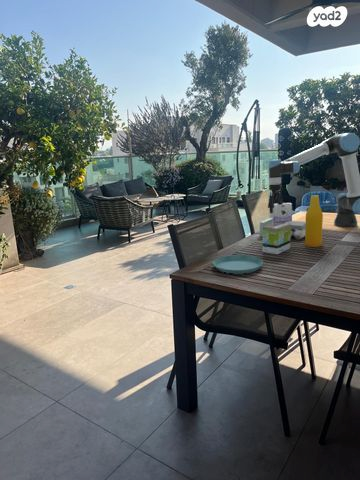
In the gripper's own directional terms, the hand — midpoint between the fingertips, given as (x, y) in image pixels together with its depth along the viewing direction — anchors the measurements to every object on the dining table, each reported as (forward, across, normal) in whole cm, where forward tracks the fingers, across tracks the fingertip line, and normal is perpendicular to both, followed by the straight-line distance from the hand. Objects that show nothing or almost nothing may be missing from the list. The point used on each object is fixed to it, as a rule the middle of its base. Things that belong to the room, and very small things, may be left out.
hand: (275, 215), depth 232 cm
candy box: (+13, -33, -8) cm, 36 cm away
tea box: (+13, +37, +14) cm, 42 cm away
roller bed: (+13, 0, +14) cm, 19 cm away
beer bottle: (+13, +18, +30) cm, 37 cm away
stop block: (+13, 0, -6) cm, 14 cm away
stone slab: (+7, 0, +14) cm, 15 cm away
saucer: (+12, +74, +8) cm, 76 cm away
